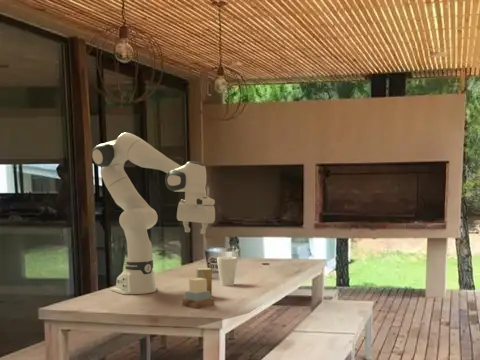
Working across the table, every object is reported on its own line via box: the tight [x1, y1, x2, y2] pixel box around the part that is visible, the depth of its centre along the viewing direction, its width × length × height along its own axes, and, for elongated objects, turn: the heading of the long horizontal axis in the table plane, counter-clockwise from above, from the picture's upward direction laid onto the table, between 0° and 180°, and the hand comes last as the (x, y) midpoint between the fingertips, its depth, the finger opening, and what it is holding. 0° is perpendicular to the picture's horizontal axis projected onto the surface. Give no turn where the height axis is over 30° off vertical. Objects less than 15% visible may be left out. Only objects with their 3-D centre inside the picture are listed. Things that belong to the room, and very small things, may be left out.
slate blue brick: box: [185, 290, 211, 301], centre depth 226 cm, size 7×7×3 cm
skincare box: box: [195, 267, 213, 298], centre depth 243 cm, size 6×4×12 cm
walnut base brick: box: [182, 297, 215, 309], centre depth 226 cm, size 9×9×3 cm
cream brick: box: [188, 277, 207, 293], centre depth 226 cm, size 5×5×5 cm
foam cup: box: [216, 256, 238, 287], centre depth 272 cm, size 10×9×13 cm
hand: (194, 232), depth 235 cm, fingers open, 8 cm apart
